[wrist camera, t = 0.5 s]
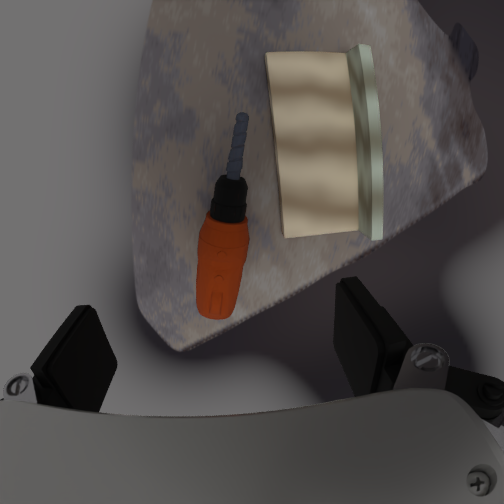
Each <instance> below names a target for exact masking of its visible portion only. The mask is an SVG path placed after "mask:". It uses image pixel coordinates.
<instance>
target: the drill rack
mask: <svg viewBox="0 0 504 504" xmlns="http://www.w3.org/2000/svg"><path fill="white" fill-rule="evenodd" d="M265 65H266V73H267V81H268V90H269V99H270V107H271V117H272V126H273V135H274V145H275V156H276V166H277V177H278V188H279V200H280V212H281V224H282V234H283V236H284V238H292V237H301V236H310V235H319V234H328V233H337V232H346V231H356V230H359V231H360V232H361V233H363V234H364V235H365V236H367V237H368V238H369V239H370V240H381V239H382V235H383V157H382V138H381V125H380V113H379V103H378V94H377V86H376V79H375V72H374V65H373V59H372V53H371V47H370V45H362V44H358V45H357V46H355V47H354V48H352V49H351V50H350V51H348V52H347V53H334V52H266V54H265Z"/></svg>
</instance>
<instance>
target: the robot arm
mask: <svg viewBox="0 0 504 504" xmlns="http://www.w3.org/2000/svg"><path fill="white" fill-rule="evenodd" d="M333 344H334V348H335V351H336V353H337V356H338V358H339V360H340V363H341V365H342V367H343V370H344V372H345V374H346V377H347V379H348V381H349V384H350V386H351V389H352V390H353V393H354V396H355V397H353V398H348V399H342V400H337V401H332V402H327V403H321V404H316V405H310V406H303V407H296V408H290V409H282V410H275V411H266V412H257V413H248V414H247V413H246V414H234V415H218V416H217V415H216V416H138V415H122V414H110V413H99V411H100V408H101V406H102V403H103V400H104V398H105V395H106V393H107V390H108V388H109V386H110V383H111V381H112V378H113V376H114V374H115V371H116V369H117V360H116V357H115V355H114V353H113V351H112V348H111V346H110V344H109V342H108V339H107V337H106V334H105V332H104V330H103V327H102V325H101V322H100V320H99V317H98V315H97V312H96V310H95V309H94V308H92V307H91V306H90V305H80V306H76V307H75V309H74V310H73V311H72V312H71V313H70V315H69V316H68V317H67V319H66V320H65V321H64V322H63V324H62V325H61V326H60V327H59V329H58V330H57V331H56V333H55V334H54V335H53V337H52V338H51V339H50V341H49V342H48V344H47V345H46V346H45V348H44V349H43V350H42V352H41V353H40V355H39V356H38V357H37V359H36V360H35V362H34V363H33V365H32V366H31V370H32V372H33V373H34V377H33V378H32V377H31V375H29V374H27V373H20V374H17V375H15V376H13V377H12V378H10V379H9V380H8V381H7V383H6V384H5V386H4V390H3V395H4V398H3V399H1V400H0V504H504V382H503V381H501V380H500V379H498V378H495V377H491V376H487V375H483V374H479V373H475V372H471V371H467V370H464V369H460V368H456V367H452V366H449V357H448V354H447V353H446V352H445V351H444V350H443V349H442V348H440V347H439V346H436V345H433V344H427V343H423V344H417V345H415V346H413V345H412V343H411V342H410V340H409V339H408V338H407V337H406V335H405V334H404V332H403V331H402V330H401V329H400V327H399V326H398V325H397V323H396V322H395V321H394V320H393V318H392V317H391V316H390V314H389V313H388V312H387V311H386V309H385V308H384V307H382V306H380V305H379V304H378V302H377V301H376V300H375V299H374V297H373V296H372V295H371V294H370V292H369V291H368V290H367V289H366V287H365V286H364V285H363V284H362V282H361V281H360V280H359V279H358V278H357V277H356V276H355V277H348V278H342V279H341V281H340V283H337V284H336V299H335V320H334V338H333Z"/></svg>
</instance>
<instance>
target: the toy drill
mask: <svg viewBox="0 0 504 504" xmlns="http://www.w3.org/2000/svg"><path fill="white" fill-rule="evenodd" d="M236 121H237V122H236V124H235V126H234V132H233V135H234V137H233V139H232V144H231V148H232V149H231V151H230V154H229V158H228V159H229V162H228V163H227V168H226V171H227V175H221V176H220V178H219V179H218V180H217V182H216V184H215V191H214V198H213V199H212V201H211V208H210V211H209V212H208V213H207V214H206V219H205V221H204V223H203V226H202V228H201V230H200V233H199V241H198V265H197V279H196V304H197V308H198V311H199V313H200V314H201V315H202V316H204V317H206V318H209V319H215V320H219V319H226V318H228V317H230V315H231V314H232V312H233V310H234V308H235V304H236V300H237V296H238V292H239V287H240V282H241V277H242V270H243V265H244V263H245V261H246V257H247V251H248V245H249V232H248V226H247V222H248V219H247V217H246V216H245V213H246V207H247V204H246V196H247V190H248V186H247V184H246V181H245V179H244V178H242V177H240V172H241V169H242V163H243V158H242V156H243V152H244V143H245V140H246V134H247V132H246V131H247V127H248V121H249V116H248V114H247V113H244V112H240V113H238V114H237V116H236Z"/></svg>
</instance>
